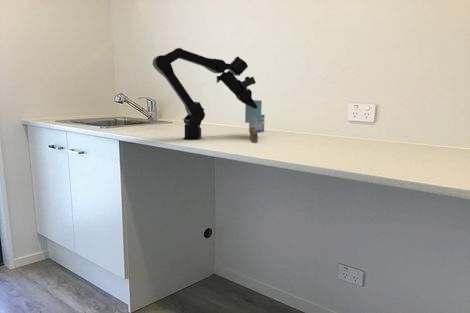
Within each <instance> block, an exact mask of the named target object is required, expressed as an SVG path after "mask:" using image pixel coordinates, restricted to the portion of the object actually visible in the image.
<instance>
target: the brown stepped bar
mask: <svg viewBox="0 0 470 313" xmlns="http://www.w3.org/2000/svg"><path fill="white" fill-rule="evenodd" d="M258 133H259V132H258V131H257V130H255V128H254V127H250V132H249V140H250V141H251V143H255V144H256V143H258Z"/></svg>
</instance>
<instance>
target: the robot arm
mask: <svg viewBox="0 0 470 313" xmlns="http://www.w3.org/2000/svg"><path fill="white" fill-rule="evenodd" d="M178 59H180V60H183V61H185V62H188V63H191V64H195V65H198V66H201V67H203V68H205V69H207V71H210V73H212V74H220V75H217V76H216V84H218V83H219V82H222V83H223V84H224V85H225V86H226V87H227V89H229V91H230V92H232V94H233V95H234V96H235V97H236V99H237V100H238V101H240V103H242V104H244V105H245V104H247V105H249V106H251V107H253V108H255V109H257V105H256V104H255V102H254V101H253V100H254V99H253V97H252V95H253V91H252V90H251V89H250V88H248V87H249V86H252V85H256V83H257V82H256V79H255V77H254V76H250V77H249V76H246V77H244V80H242V81H241V79H240V80H239V79H238V78H237V76H238V77H240V76H241V75H242V74H243V73H244V72H245V70H247V69H248V68H249V67H248V64H247V62H246V61H244V59H242V58H240V56H236V57H234V59H233V60H232V61H231V62H230V63H226V62H225V60H224V59H219V58H210V57H205V56H203V55H201V54H198V53H194V52H191V51H189V50H188V51H187V50H185V49H183V48H181V47H177V48H174V49H173V50H171V51H169V52H168V53H165V54H161V55H160V54H159V55H158V56H155V57H154V58H153V60H152V67H153V68H154V69H155V70H156V71H157V72H158V73H159V74H160V75H161V76H163V77H164V78H165V79H166V81H167V82H168V84H169V85H170V87H171V88H172V90H173V91H174V92H175V94H176V95H177V97H178V98H179V100H180V102H182V104H183V105H184V109H185V111H186V113H187V115H186V116H185V117H184V118H183V119H182V120H183V123H184V137H183V140H199V139H201V138H202V127H201V125H202V121H203V120H204V119H205V117H206V116H205V115H206V112H205V109H204V107H203V106H202V104H201V102H200V101H194V100H193V98H192V97H191V96H190V94H189V92H188V91H187V89H185V86H184V85H183V84H182V82H181V81H180V79H179V78H178V77H177V75H176V74H175V71H174V68H173V66H172V63H174V62H175V61H177V60H178ZM227 70H228V71H227Z"/></svg>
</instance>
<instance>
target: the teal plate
mask: <svg viewBox="0 0 470 313" xmlns="http://www.w3.org/2000/svg"><path fill="white" fill-rule="evenodd" d="M253 101H254V102H255V104H256V105H257V109H255V108H253V107H251V106H249V105H247V104H244V106H245V112H244V114H245V117H244V118H245V120H244V122H245V124H246V123H247V124H249V117H257V123H261V115H262V100H259V99H257V100H256V99H253Z"/></svg>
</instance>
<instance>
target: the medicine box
mask: <svg viewBox="0 0 470 313" xmlns="http://www.w3.org/2000/svg"><path fill="white" fill-rule="evenodd" d="M265 116H266V115H265V114H261V123H257V117H249V123H248V132H249V133H250V127H254V128H255V130H257V131H258V133H263V132H265Z"/></svg>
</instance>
